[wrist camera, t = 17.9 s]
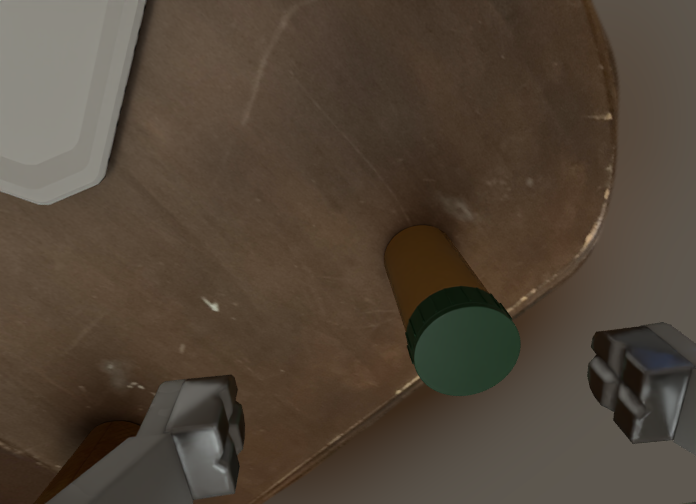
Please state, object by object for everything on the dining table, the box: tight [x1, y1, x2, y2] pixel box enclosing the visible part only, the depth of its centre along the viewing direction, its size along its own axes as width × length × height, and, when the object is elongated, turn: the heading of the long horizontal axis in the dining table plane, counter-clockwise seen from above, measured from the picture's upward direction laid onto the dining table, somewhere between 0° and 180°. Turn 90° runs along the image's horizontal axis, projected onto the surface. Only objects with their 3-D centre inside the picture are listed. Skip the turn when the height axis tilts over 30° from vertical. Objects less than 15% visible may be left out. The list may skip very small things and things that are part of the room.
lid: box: [405, 286, 520, 396], centre depth 26 cm, size 6×6×2 cm
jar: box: [384, 225, 489, 331], centre depth 31 cm, size 6×6×12 cm
